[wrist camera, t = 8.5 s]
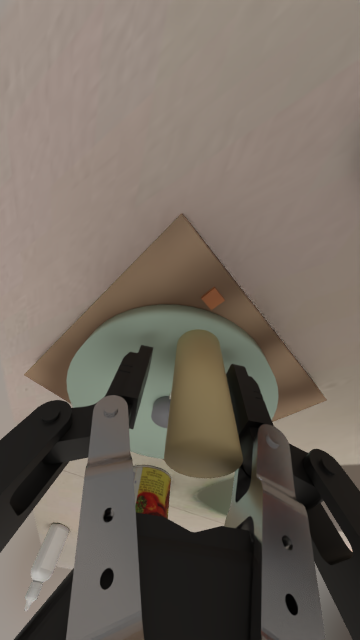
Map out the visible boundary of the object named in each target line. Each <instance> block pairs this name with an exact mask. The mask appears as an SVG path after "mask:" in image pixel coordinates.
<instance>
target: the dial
mask: <svg viewBox="0 0 360 640" xmlns="http://www.w3.org/2000/svg"><path fill="white" fill-rule="evenodd" d="M141 345H145V346H149V347H153V353H152V359H151V364H150V369H149V373H148V377H147V381H146V385H145V388H144V392H143V396H142V399H141V403H140V407H139V410H138V414H137V418H136V421H135V425H134V429H129V437H130V451H131V452H134V453H137V454H141V455H145V456H149V457H154V458H160V459H164V460H165V462H166V464H167V465H168V466H169V467H170V468H171V469H173V470H174V471H176V472H178V473H180V474H183V475H186V476H190V477H196V478H216V477H221V476H225V475H228V474H231V473H233V472H234V471H236V470H237V469H238V468H239V467H240V466H241V465H242V462H243V456H242V451H241V446H240V441H239V436H238V431H237V426H236V421H235V416H234V411H233V407H232V402H231V397H230V392H229V387H228V382H227V377H226V374H227V371H228V369H229V367H230V365H231V364H236V365H240V366H244V367H245V368H246V371H247V374H248V376H251V377H253V379H254V380H255V381H256V382H257V384H258V386H259V388H260V391H261V394H262V396H263V400H264V402H265V404H266V407H267V410H268V412H269V415H270V418H271V420H272V418H273V417H274V414H275V411H276V409H277V404H278V386H277V383H276V379H275V376H274V374H273V372H272V370H271V368H270V366H269V364H268V362H267V360H266V358H265V356H264V354H263V352H262V350H261V348H260V347H259V346H258V344H257V343H256V342H255V340H254V339H253V338H252V337H251V336H250V335H249V334H248V333H247V332H246V331H244V330H243V329H242V328H240V327H239V326H238V325H236V324H235V323H233V322H231V321H230V320H228V319H226V318H224V317H222V316H220V315H217V314H215V313H212V312H210V311H207V310H203V309H199V308H195V307H191V306H183V305H162V304H160V305H151V306H143V307H139V308H135V309H131V310H128V311H126V312H123V313H121V314H118V315H116V316H114V317H113V318H111V319H109V320H107V321H106V322H104V323H103V324H102V325H101V326H99V327H98V328H97V329H96V330H95V331H94V332H93V333H92V334H91V336H90V337H89V338H88V339H87V340H86V341H85V343H84V344H83V345H82V346H81V348H80V349H79V350H78V351H77V352H76V354H75V356H74V357H73V359H72V361H71V363H70V366H69V369H68V373H67V380H66V381H67V392H68V395H69V399H70V401H71V404H72V406H73V408H75V407H84V406H90V405H93V404H95V403H97V402H98V401H99V400H100V399H102V398H104V396H105V395H106V393H107V391H108V389H109V387H110V385H111V383H112V381H113V379H114V376H115V374H116V372H117V371H118V368H119V366H120V364H121V362H122V360H123V357H124V356H125V355H127V354H128V353H129V352H134V353H138V352H139V349H140V346H141Z"/></svg>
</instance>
